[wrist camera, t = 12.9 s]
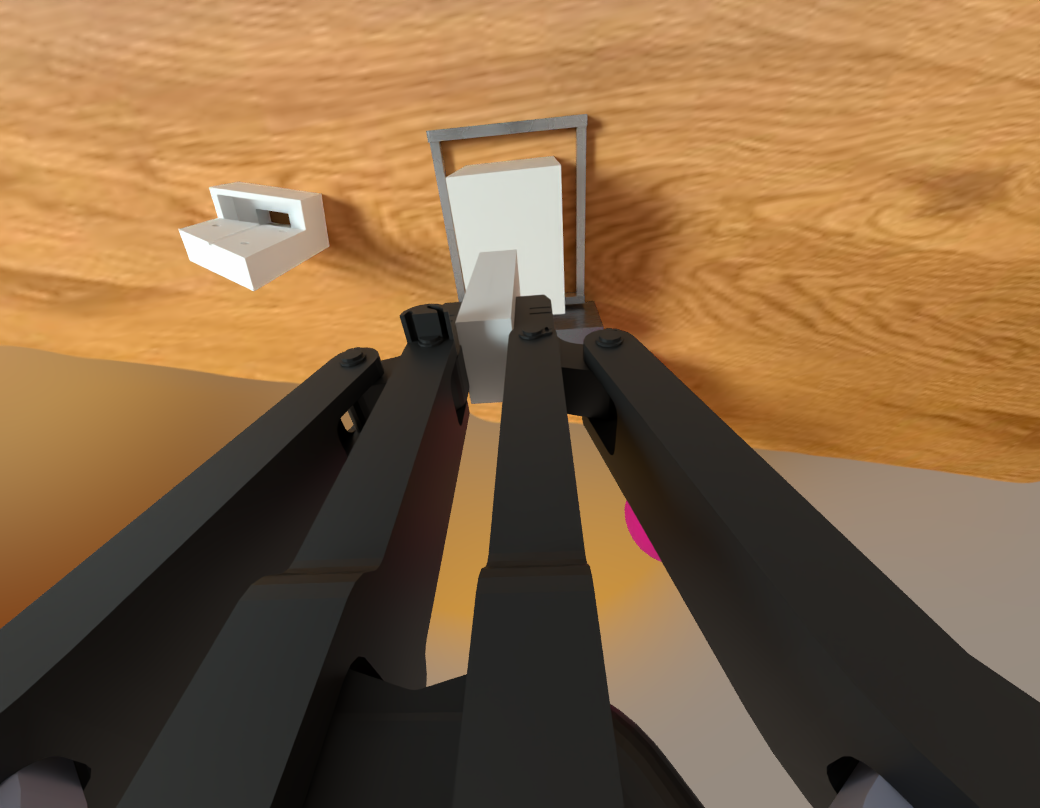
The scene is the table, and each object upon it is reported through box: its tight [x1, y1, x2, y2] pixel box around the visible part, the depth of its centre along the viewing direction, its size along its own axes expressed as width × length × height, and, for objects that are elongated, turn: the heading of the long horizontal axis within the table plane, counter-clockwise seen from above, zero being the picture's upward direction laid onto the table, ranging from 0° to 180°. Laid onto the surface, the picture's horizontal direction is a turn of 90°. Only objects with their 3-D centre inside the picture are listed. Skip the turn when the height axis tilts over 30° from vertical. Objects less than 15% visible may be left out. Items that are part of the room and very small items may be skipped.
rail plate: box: [426, 114, 603, 344], centre depth 27 cm, size 14×12×5 cm
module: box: [446, 156, 565, 315], centre depth 25 cm, size 8×6×8 cm
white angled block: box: [179, 182, 329, 291], centre depth 25 cm, size 4×10×9 cm, turn 83°
